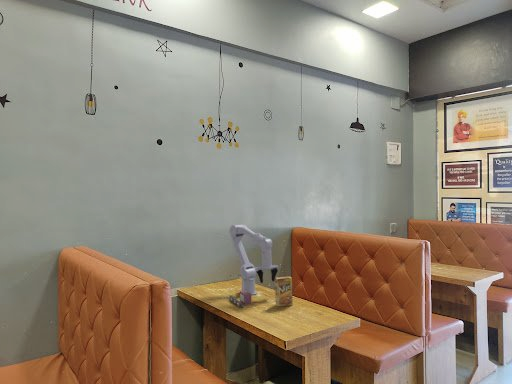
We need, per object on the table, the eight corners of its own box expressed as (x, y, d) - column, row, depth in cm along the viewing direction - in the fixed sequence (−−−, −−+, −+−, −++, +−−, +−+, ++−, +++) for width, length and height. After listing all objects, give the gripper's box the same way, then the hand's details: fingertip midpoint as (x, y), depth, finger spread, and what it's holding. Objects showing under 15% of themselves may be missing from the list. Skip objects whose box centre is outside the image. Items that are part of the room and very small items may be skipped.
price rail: (229, 299, 213) (229, 295, 213) (231, 299, 213) (231, 295, 213) (240, 308, 196) (240, 303, 196) (242, 307, 197) (242, 303, 197)
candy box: (277, 307, 197) (277, 278, 197) (275, 304, 201) (274, 277, 201) (292, 305, 200) (292, 277, 200) (290, 303, 204) (289, 275, 204)
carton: (244, 305, 202) (244, 294, 202) (239, 301, 209) (239, 291, 209) (251, 304, 203) (251, 293, 204) (246, 300, 211) (246, 290, 211)
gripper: (258, 261, 209) (259, 284, 209) (280, 259, 215) (281, 281, 215) (253, 259, 215) (254, 282, 215) (275, 257, 221) (275, 279, 221)
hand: (267, 281), depth 215 cm, fingers open, 7 cm apart
